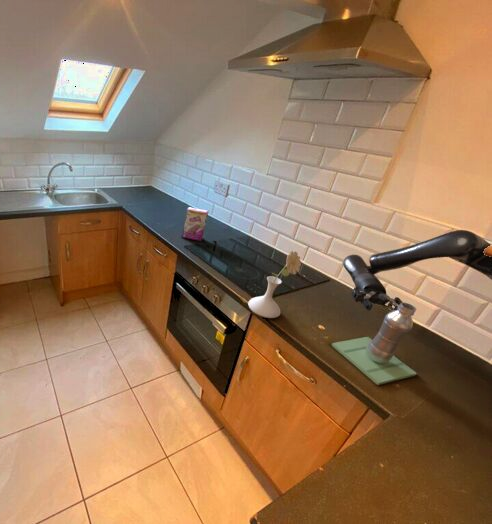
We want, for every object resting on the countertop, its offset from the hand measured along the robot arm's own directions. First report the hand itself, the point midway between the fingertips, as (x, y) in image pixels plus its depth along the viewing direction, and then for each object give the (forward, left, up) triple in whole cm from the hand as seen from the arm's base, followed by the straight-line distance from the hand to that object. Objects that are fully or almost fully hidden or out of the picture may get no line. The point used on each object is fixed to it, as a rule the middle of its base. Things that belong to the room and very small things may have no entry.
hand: (385, 312), depth 94 cm
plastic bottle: (+5, +7, -12) cm, 15 cm away
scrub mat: (+6, +6, -13) cm, 16 cm away
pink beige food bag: (+23, -88, -13) cm, 92 cm away
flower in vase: (+25, -22, -13) cm, 36 cm away
